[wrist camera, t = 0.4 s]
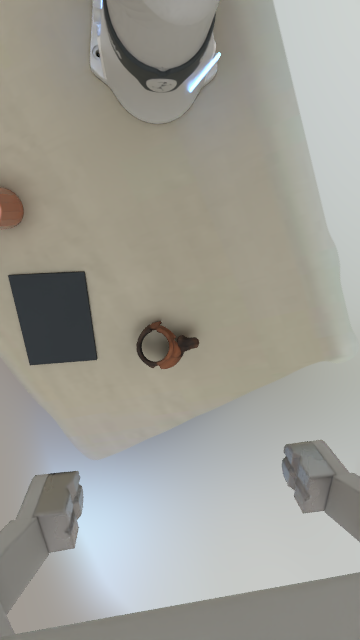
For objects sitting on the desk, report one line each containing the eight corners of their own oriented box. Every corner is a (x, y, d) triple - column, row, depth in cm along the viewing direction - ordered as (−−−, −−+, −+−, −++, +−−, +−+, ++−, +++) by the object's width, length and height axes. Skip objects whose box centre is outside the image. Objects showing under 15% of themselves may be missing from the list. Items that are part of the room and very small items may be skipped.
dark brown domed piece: (153, 369, 61) (138, 376, 53) (143, 327, 62) (127, 327, 54) (207, 357, 58) (199, 362, 50) (195, 313, 59) (186, 311, 51)
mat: (9, 274, 50) (7, 275, 50) (84, 271, 52) (84, 272, 51) (30, 363, 57) (29, 365, 56) (97, 358, 58) (96, 360, 57)
